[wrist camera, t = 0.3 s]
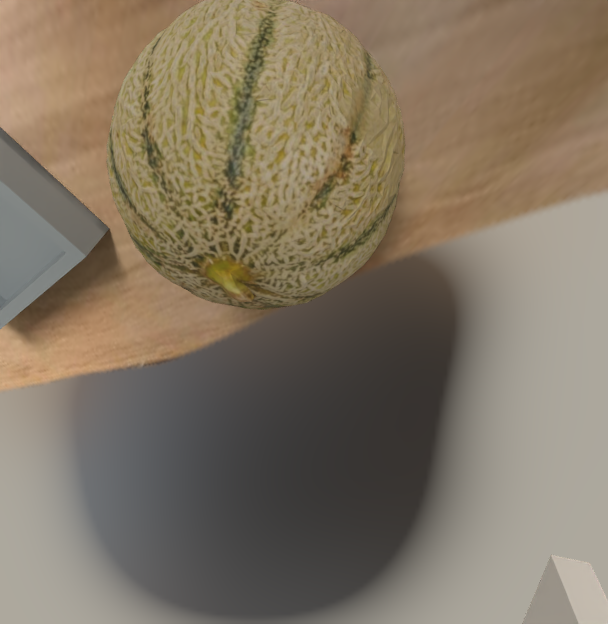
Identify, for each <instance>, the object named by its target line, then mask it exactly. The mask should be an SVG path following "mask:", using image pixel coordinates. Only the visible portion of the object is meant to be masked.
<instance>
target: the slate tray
mask: <svg viewBox="0 0 608 624" xmlns="http://www.w3.org/2000/svg"><path fill="white" fill-rule="evenodd" d="M108 230H109V228H108V227H107V226H106V225H105V224H104V223H103V222H102V221H101V220H99V219H98V218H97V217H96V216H95V215H94V214H93V213H92V212H91V211H90V210H89V209H88V208H87V207H85V206H84V205H83V204H82V203H81V202H80V201H79V200H78V199H77V198H76V197H75V196H74V195H73V194H71V193H70V192H69V191H68V190H67V189H66V188H65V187H64V186H63V185H62V184H61V183H60V182H59V181H57V180H56V179H55V178H54V177H53V176H52V175H51V174H50V173H49V172H48V171H47V170H46V169H45V168H43V167H42V166H41V165H40V164H39V163H38V162H37V161H36V160H35V159H34V158H33V157H32V156H31V155H29V154H28V153H27V152H26V151H25V150H24V149H23V148H22V147H21V146H20V145H19V144H18V143H17V142H15V141H14V140H13V139H12V138H11V137H10V136H9V135H8V134H7V133H6V132H5V131H4V130H2V129H1V128H0V329H1V328H2V327H3V326H5V325H6V324H7V323H8V322H9V321H11V320H12V319H13V318H14V317H15V316H17V315H18V314H19V313H20V312H21V311H22V310H24V309H25V308H26V307H27V306H28V305H30V304H31V303H32V302H33V301H34V300H35V299H37V298H38V297H39V296H40V295H41V294H43V293H44V292H45V291H46V290H47V289H49V288H50V287H51V286H52V285H53V284H54V283H56V282H57V281H58V280H59V279H60V278H62V277H63V276H64V275H65V274H66V273H67V272H69V271H70V270H71V269H72V268H73V267H75V266H76V265H77V264H78V263H79V262H81V261H82V260H83V259H84V258H85V257H86V256H87V255H88V254H89V253H90V252H91V250H92V249H93V248H94V247H95V245H96V244H97V243H98V242H99V241H100V239H101V238H102V237H103V236H104V234H105V233H106V232H107V231H108Z"/></svg>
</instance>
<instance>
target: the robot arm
mask: <svg viewBox="0 0 608 624" xmlns="http://www.w3.org/2000/svg"><path fill="white" fill-rule="evenodd" d="M522 624H608V600H607V598H606V596H605V594H604V592H603V590H602V588H601V585H600V583H599V581H598V579H597V577H596V575H595V573H594V571H593V568H592V567H591V564H590V563H588V562H583V561H577V560H573V559H568V558H563V557H558V556H554V555H551V556H550V559H549V561H548V564H547V566H546V568H545V571H544V573H543V575H542V578H541V580H540V583H539V585H538V587H537V590H536V592H535V595H534V597H533V600H532V602H531V604H530V607H529V609H528V611H527V614H526V616H525V618H524V621H523V623H522Z"/></svg>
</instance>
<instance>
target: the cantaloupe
mask: <svg viewBox="0 0 608 624" xmlns="http://www.w3.org/2000/svg"><path fill="white" fill-rule="evenodd" d="M404 153H405V138H404V128H403V121H402V116H401V112H400V108H399V106H398V104H397V98H396V95H395V92H394V90H393V88H392V87H391V86H390V83H389V80H388V78H387V77H386V75H385V74H384V72H383V71H382V69H381V68H380V66H379V65H378V64H377V63H376V61H375V59H374V58H373V57H372V56H371V55H370V54H369V53H368V52H367V51H366V50H365V49H364V47H363V46H362V45H361V44H360V42H359V41H358V39H357V38H356V37H355V36H354V35H353V34H352V33H350V32H349V31H348V30H347V29H346V28H344V27H343V26H342V25H341V24H339V23H338V22H337V21H336V20H335V19H333V18H332V17H330V16H329V15H326V14H323V13H321V12H317V11H314V10H311V9H309V8H307V7H304V6H302V5H300V4H298V3H296V2H291V1H286V0H204V1H202V2H200V3H198V4H197V5H195V6H193V7H191V8H189V9H188V10H187V11H185V12H184V13H182V14H181V15H180V16H179V17H178V18H177V19H176V20H175V21H174V22H173V23H172V24H171V25H170V26H169V27H168V28H166V29H165V30H163V31H161V32H159V33H158V34H157V35H156V37H155V38H154V39H153V40H152V41H151V42H150V43H149V44H148V45H147V46H146V47H145V48H144V50H143V51H142V53H141V54H140V55H139V56H138V58H137V60H136V62H135V63H134V64H133V66H132V68H131V69H130V70H129V72H128V74H127V76H126V77H125V79H124V81H123V84H122V87H121V89H120V92H119V95H118V98H117V101H116V104H115V107H114V115H113V116H112V123H111V127H110V132H109V137H108V142H107V154H108V156H107V161H106V162H107V168H108V174H109V179H110V187H111V191H112V195H113V199H114V201H115V204H116V206H117V208H118V211H119V213H120V215H121V216H122V218H123V220H124V222H125V225H126V227H127V229H128V232H129V234H130V236H131V239H132V241H133V243H134V245H135V247H136V248H137V249H138V250H139V251H140V252H141V253H142V255H143V257H144V258H145V259H146V261H147V262H148V263H149V264H150V265H151V266H152V267H153V268H154V269H155V270H156V271H157V272H158V273H159V274H161V275H162V276H164V277H165V278H167V279H168V280H170V281H171V282H173V283H175V284H177V285H179V286H181V287H183V288H184V289H186V290H188V291H189V292H191V293H192V294H194V295H196V296H197V297H200V298H203V299H205V300H208V301H211V302H214V303H220V304H226V305H232V306H237V307H242V308H249V309H263V310H264V309H271V308H278V307H285V306H294V305H298V304H303V303H308V302H310V301H311V300H313V299H315V298H317V297H319V296H322V295H323V294H325V293H326V292H328V291H329V290H331V289H332V288H334V287H336V286H337V285H339V284H340V283H342V282H343V281H345V280H346V279H347V278H349V277H350V276H351V275H353V274H354V273H355V272H356V271H357V270H358V269H360V268H361V267H362V266H363V265H364V264H365V263H366V261H368V260H369V258H370V257H371V255H372V254H373V253H374V251H375V250H376V248H377V247H378V245H379V243H380V242H381V240H382V239H383V237H384V235H385V234H386V231H387V228H388V226H389V223H390V221H391V217H392V214H393V211H394V209H395V207H396V199H397V194H398V190H399V185H400V179H401V177H402V174H403V171H404Z"/></svg>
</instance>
